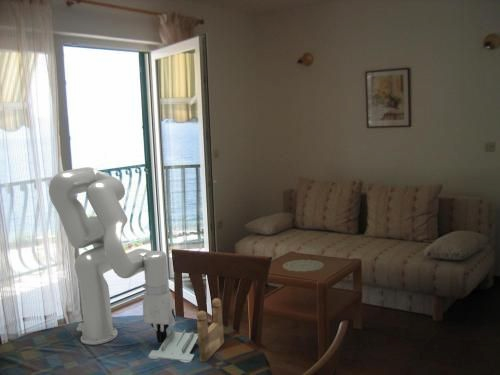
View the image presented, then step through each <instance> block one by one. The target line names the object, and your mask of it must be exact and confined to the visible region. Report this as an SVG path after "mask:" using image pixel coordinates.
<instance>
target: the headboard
mask: <svg viewBox="0 0 500 375" xmlns="http://www.w3.org/2000/svg"><path fill="white" fill-rule="evenodd" d="M211 304H212V308H211V309H212V323H211V324H210V325H208V317H207V316H208V314H207V312H206V311H205V310H200V311H198V312H197V314H196V318H197V321H196V322H197V323H196V324H197V334H198V339H197V341H198V350H199V362H203V363H206V362H207V361H209V359H210V358H211V357H212V356H213V355H214V354H215V352H216V351H217V350H219V349H220V347H221V346H222V345H223V344H224V343H225V337H224V322H223V308H222V300H221V299H220V298H218V297H217V298H216V297H215V298H214V299H212V301H211Z"/></svg>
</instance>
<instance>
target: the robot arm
mask: <svg viewBox="0 0 500 375" xmlns="http://www.w3.org/2000/svg"><path fill="white" fill-rule="evenodd" d="M81 193H85V194H86V198H87V200H88V202H89V204H90V206H91V208H92V210H93V211H94V213H95V216H90V217H88V215H87V213H86V210H85V208H84V205H83V204H82V203H81V201H79V200H78V198H76V197H75V195H77V194H81ZM48 195H49V198H50V202H51V203H52V205H53V207H54V209H55V210H56V212H57V214H58V217H59V219H60V223H61V225H62V227H63V229H64V232H65V234H66V237H67V240H68V241H69V243H70V245H71V247H73V248H75V249H84V248H87V247H89V246H92V248H91V249H88V250H86V251H84V252H82V253H80V254H79V255H78V256H77V258H76V259H75V260H74V261H75V262H74V270H75V274H76V277H77V280H78V285H79V291H80V292H79V293H80V299H81V300H80V301H81V308H82V309H81V311H82V320H83V322H79V323H78V325H77V327H76V331H77V332H82V334H81V336H80V342H81V343H82V344H85V345H88V346H89V345H90V346H91V345H95V346H96V345H101V344H105V343H108V342H110V341H112V340H114V339H116V338H117V336H118V334H119V332H118V329H117V328H115V327H114V326H113V318H112V315H113V314H112V307H111V297H110V288H109V283H108V282H107V280H106V278H105V276H104V274H105V273H107V272H109V271H111V270H113V272H114V273H115V274H116V276H118V277H120V278H121V279H130V278H131V277H134V276H136V275H137V274H140V273H142V272H144V280H145V281H144V284H143V285H142V288H143V289H144V290H145V292H144V294H143V300H142V301H143V302H142V316H143V321H144V322H145V324H147V325H150V326H151V327H152V328H153V329H154V330H153V331H155V334H156V339H157V343H158V344H162V343H163V342H164V340H165V339H166V337H167V335H168V333H167V332H168V331H167V329H168V328H170V327H174V326H176V321H175V320H176V307H175V302H174V297H173V294H172V292H171V291H170V284H169V272H168V271H169V270H168V260H167V259H168V258H167V255H166V253H165V251H162V250H149V249H145V248H136V249H134V250H132V251H129V252H126V251H125V248H124V246H123V242H122V234H123V233H122V232H123V230H124V228H125V226H126V225H127V223H128V217H127V214H126V213H125V211H124V209H123V207H122V206H121V203H120V201H121V200H122V199H124V197H125V195H126V190H125V186H124V184H123V182H121V180H120V179H118V178H116V177H114V176H112V175H110V174H108V173H105V172H103V171H101V170H98V169H95V168H93V167H79V168H73V169H66V170H63V171H60V172H59V173H56V174H54V176H53V177H52V178H51V180H50V181H49V185H48Z"/></svg>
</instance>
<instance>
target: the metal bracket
mask: <svg viewBox="0 0 500 375" xmlns="http://www.w3.org/2000/svg"><path fill="white" fill-rule="evenodd" d="M197 341H198V333H194V331H191V332H187V331H186V329H184V330H183V332H179V331H174V330H171V331H169V333H167V337H166V339H165V340H164V342H163V343H161V345H160V346H159V348H158V350H154V349H152V350H151V351H150V353H149V354H148V358H150V359H156V360H157V359H163V360H172V361H180V362H181V363H182V362H183V363H191V362H192V361H193V360H194V357H195V354H194V353H191V352H192V349H194V347H195V344H196V343H197Z"/></svg>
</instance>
